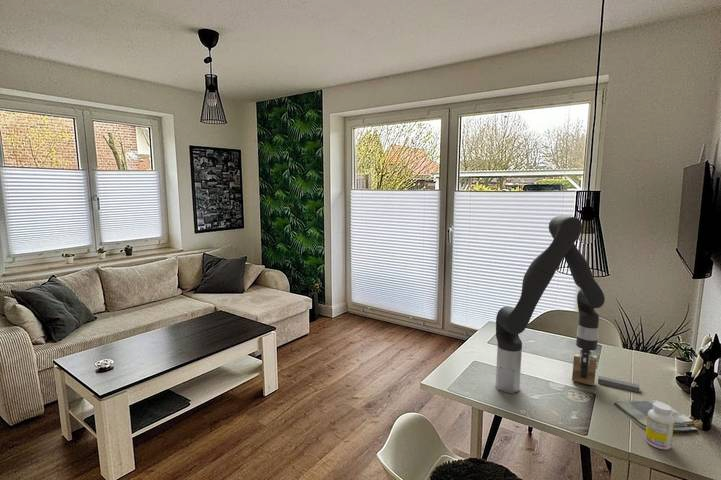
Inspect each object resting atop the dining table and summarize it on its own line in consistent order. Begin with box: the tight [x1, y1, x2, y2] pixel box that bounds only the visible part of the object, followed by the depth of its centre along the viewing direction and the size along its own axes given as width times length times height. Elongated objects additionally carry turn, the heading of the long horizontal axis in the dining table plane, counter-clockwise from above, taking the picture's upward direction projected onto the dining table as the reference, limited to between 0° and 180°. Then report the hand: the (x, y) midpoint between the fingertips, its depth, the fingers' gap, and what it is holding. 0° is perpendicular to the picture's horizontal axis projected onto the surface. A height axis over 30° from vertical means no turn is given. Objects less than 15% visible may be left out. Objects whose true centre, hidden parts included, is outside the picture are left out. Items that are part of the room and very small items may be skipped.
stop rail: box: [597, 375, 640, 394], centre depth 157 cm, size 3×14×2 cm, turn 57°
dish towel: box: [613, 399, 700, 434], centre depth 136 cm, size 19×18×3 cm
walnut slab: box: [571, 351, 598, 387], centre depth 159 cm, size 4×8×11 cm, turn 57°
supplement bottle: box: [644, 402, 675, 450], centre depth 121 cm, size 7×7×13 cm
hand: (583, 375), depth 160 cm, fingers closed on walnut slab, 4 cm apart
